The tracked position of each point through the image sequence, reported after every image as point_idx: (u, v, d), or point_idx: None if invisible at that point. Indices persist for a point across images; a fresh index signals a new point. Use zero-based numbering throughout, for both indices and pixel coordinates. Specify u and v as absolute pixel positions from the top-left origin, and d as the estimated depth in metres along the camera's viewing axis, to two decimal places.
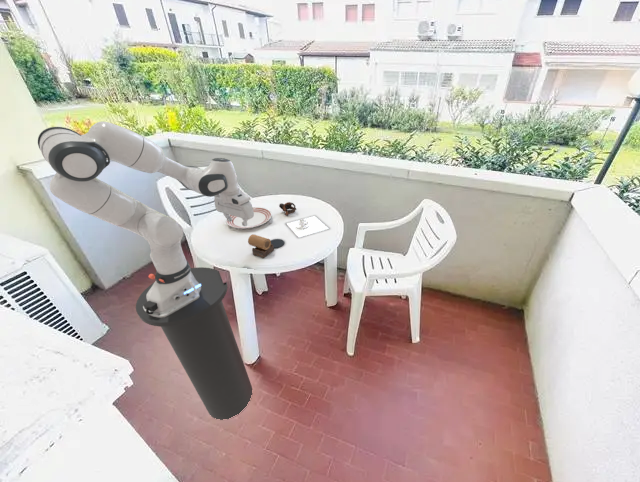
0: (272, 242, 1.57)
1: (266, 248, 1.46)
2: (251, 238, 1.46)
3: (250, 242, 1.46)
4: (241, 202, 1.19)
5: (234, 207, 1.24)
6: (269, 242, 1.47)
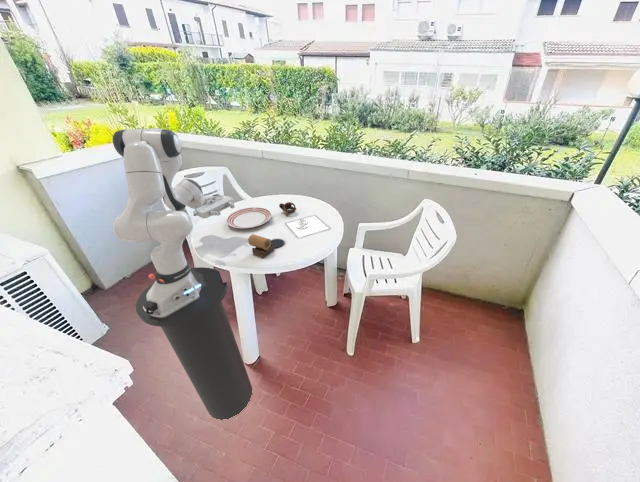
0: (272, 242, 1.57)
1: (266, 248, 1.46)
2: (251, 238, 1.46)
3: (250, 242, 1.46)
4: None
5: (217, 202, 1.51)
6: (269, 242, 1.47)
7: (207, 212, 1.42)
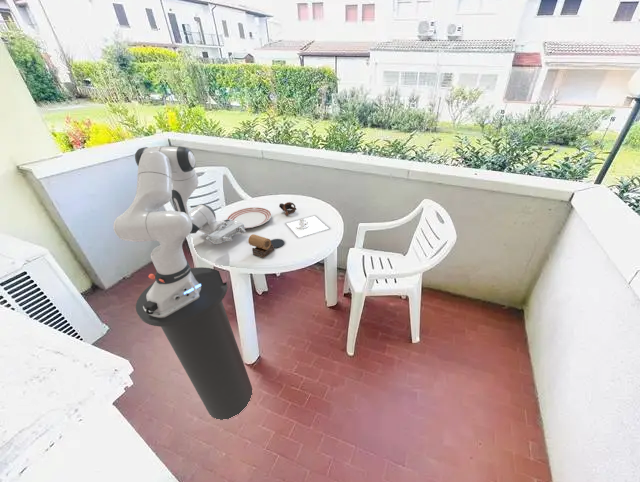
0: (272, 242, 1.57)
1: (266, 248, 1.46)
2: (251, 238, 1.46)
3: (250, 242, 1.46)
4: None
5: (228, 227, 1.57)
6: (269, 242, 1.47)
7: (220, 238, 1.48)
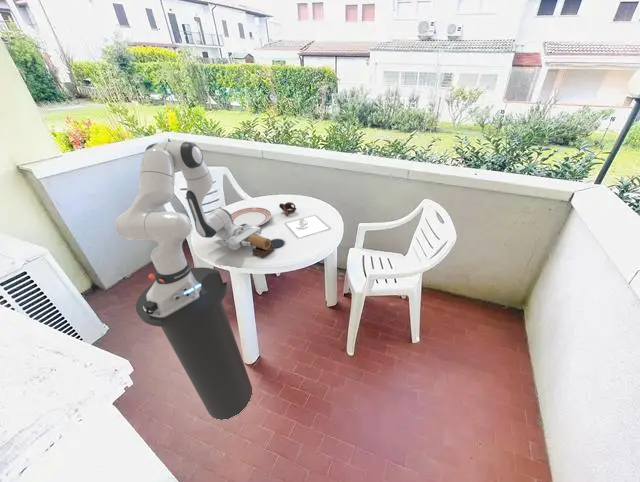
0: (272, 242, 1.57)
1: (266, 248, 1.46)
2: (251, 238, 1.46)
3: None
4: None
5: (245, 232, 1.53)
6: (269, 241, 1.47)
7: (237, 244, 1.44)
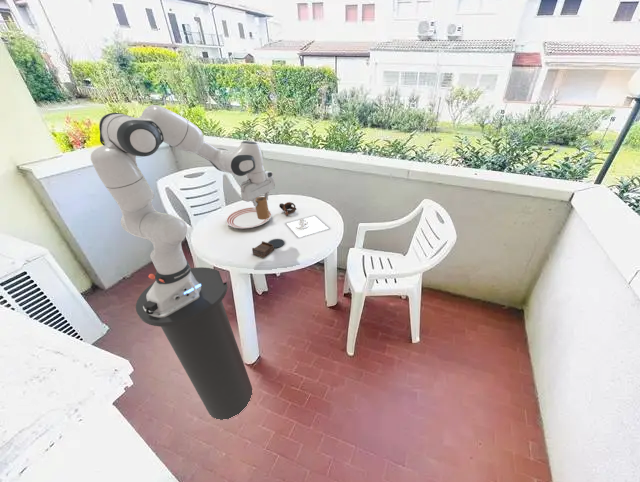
0: (272, 242, 1.57)
1: None
2: (262, 204, 1.40)
3: None
4: None
5: (263, 184, 1.38)
6: None
7: None
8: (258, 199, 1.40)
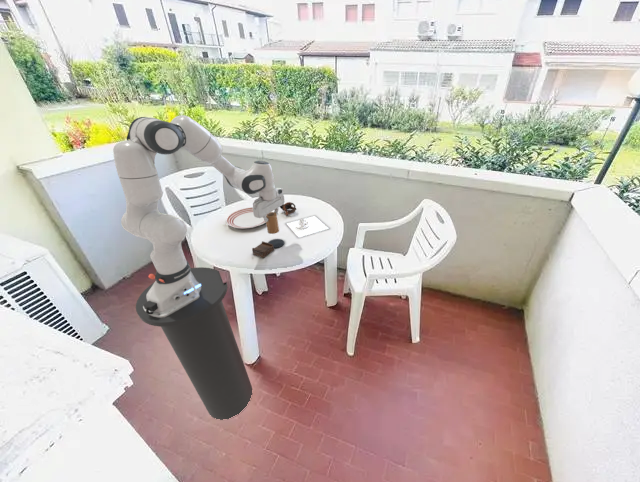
0: (272, 242, 1.57)
1: None
2: (272, 219, 1.46)
3: None
4: None
5: (274, 200, 1.44)
6: None
7: None
8: (269, 215, 1.46)
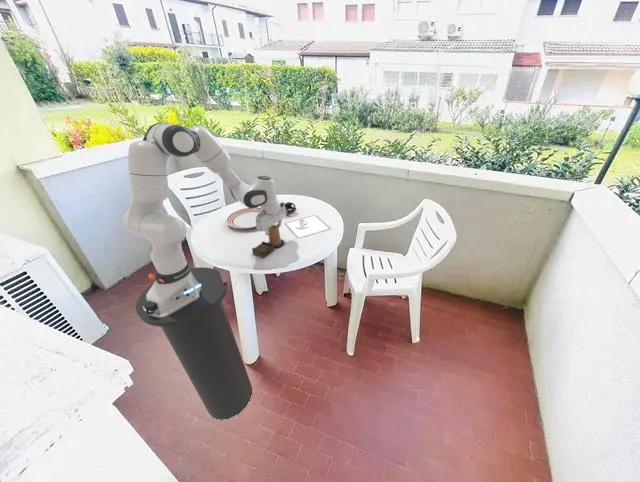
0: None
1: None
2: (274, 232, 1.50)
3: (270, 232, 1.50)
4: None
5: (276, 213, 1.48)
6: None
7: None
8: (271, 228, 1.51)
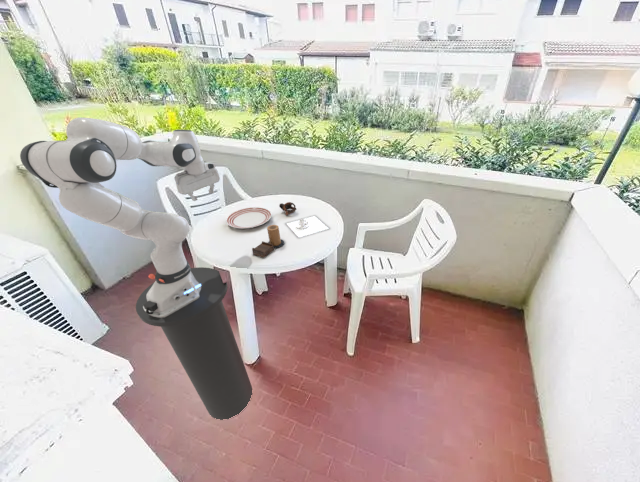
0: None
1: None
2: (274, 232, 1.50)
3: (270, 232, 1.50)
4: None
5: (204, 176, 1.30)
6: None
7: None
8: (271, 228, 1.51)
